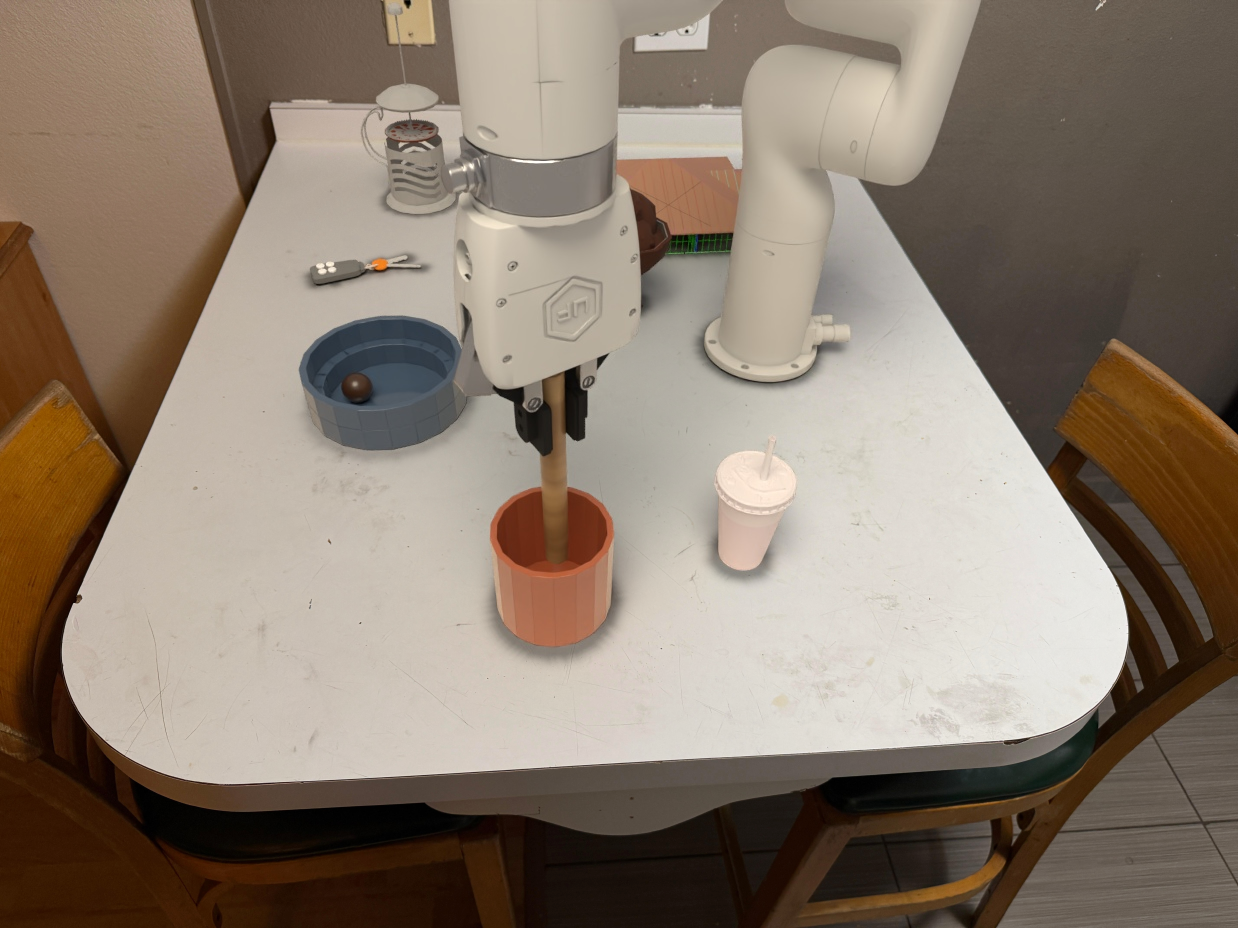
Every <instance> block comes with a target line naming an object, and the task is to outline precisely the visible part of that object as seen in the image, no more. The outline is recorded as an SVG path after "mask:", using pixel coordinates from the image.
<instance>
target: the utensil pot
mask: <svg viewBox="0 0 1238 928" xmlns="http://www.w3.org/2000/svg"><path fill="white" fill-rule="evenodd" d="M567 497H568V539H569V557H568V559H567V560H566V561H565V562H563V563H561V564H553V563H550V562H549V561H548V560H547V559H546V557H545V541H544V523H543V505H542V487H541V486H536V487H531V488H527V489H525V490H524V491H521V492H518V493H517V494H514V495H513V496H510V498H509V499H508V500H506V501H505V502H504V503H503V504H502V505H501V506H500V507H498V509H497V511H496V513H495V514H494V516H493V519H492V520H491V522H490V525H489V526H490V527H489V528H490V529H489V543H490V552H491V561H492V562H491V563H492V571H493V579H494V588H495V589H494V590H495V597H496V598H495V599H496V607H497V612H498V613H499V617H500V618H501V621H502V623H503V625H504V626H505V627H506V628H507V629H508V630H509V632H511V633H512V634H513V635H515V636H516V637H517V638H518V639H520V640H523V641H524V642H526V643H528V644H532V645H535V646H540V647H548V648H549V647H551V648H558V647H564V646H565V647H566V646H569V645H573V644H576V643H578V642H581V641H583V640H584V639H587V638H588V637H589V636H591V635H593V634H595V632H596V631H598V630H599V628H600V627H601V626H602V624H603V623H604V622H605V621H606V619H607V616H608V614H609V610H610V608H611V605H612V604H611V603H612V589H613V588H612V587H613V566H614V549H615V548H614V545H615V530H614V521H613V518H612V516H611V514H610V512H609V510H608V509H607V508H606V506H605V504H603V503H602V502H601V501H600V500H599V499H597V498H596V497H594V496H593V495H592V494H590V493H589V492H587V491H583V490H581V489H578V488H576V487H573V486H567Z"/></svg>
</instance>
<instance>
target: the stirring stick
mask: <svg viewBox="0 0 1238 928" xmlns="http://www.w3.org/2000/svg"><path fill="white" fill-rule="evenodd" d="M542 392H543V400H544V401H545V402H546V403H547V404H548V405H549V406H550V408H551V411H552V435H553V450H552V451H551V454H548V455H546V456H544V457H543V456H542V455H541V454H540V453H539V468H540V480H541V481H540V487H542V505H543V523H544V541H545V557H546V559H547V560H548V561H549V562H550V563H553V564H561V563H563V562H565V561H566V560H567V559H568V557H569V539H568V497H567V487H568V461H567V459H568V457H567V456H568V455H567V433H566V412H565V371H563V372H560V373H558V374H555V375H552V376H550V377H547V378H545V379H542Z"/></svg>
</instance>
